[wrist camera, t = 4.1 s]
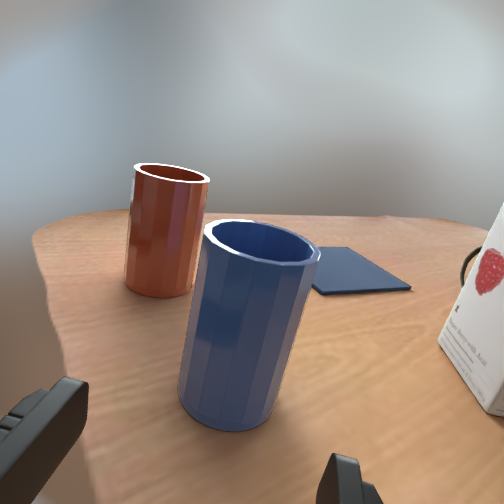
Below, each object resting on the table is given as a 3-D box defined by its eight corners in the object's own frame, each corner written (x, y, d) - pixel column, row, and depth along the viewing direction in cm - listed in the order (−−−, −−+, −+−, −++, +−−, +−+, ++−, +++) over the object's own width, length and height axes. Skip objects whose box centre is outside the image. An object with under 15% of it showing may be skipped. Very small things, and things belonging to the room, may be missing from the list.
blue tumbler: (195, 444, 18) (233, 265, 14) (166, 364, 23) (189, 216, 19) (293, 418, 21) (344, 264, 17) (249, 352, 26) (282, 222, 22)
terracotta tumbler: (129, 300, 29) (141, 177, 25) (119, 266, 33) (128, 159, 30) (200, 296, 31) (220, 186, 28) (181, 266, 36) (196, 168, 33)
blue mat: (321, 294, 37) (322, 291, 37) (267, 248, 47) (268, 245, 46) (410, 289, 44) (411, 286, 44) (347, 249, 53) (347, 247, 53)
